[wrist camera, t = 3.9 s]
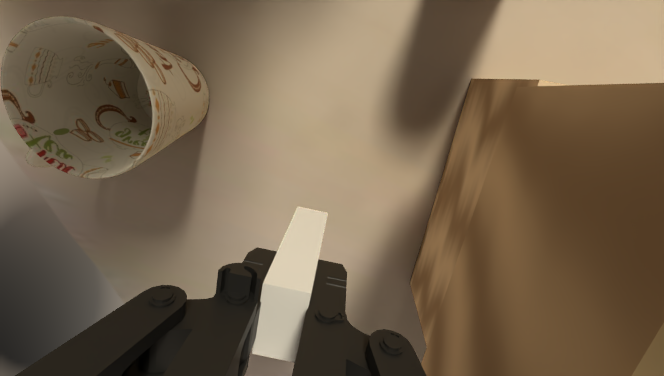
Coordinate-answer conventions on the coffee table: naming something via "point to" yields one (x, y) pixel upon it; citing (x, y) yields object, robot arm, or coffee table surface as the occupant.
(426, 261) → the wooden box
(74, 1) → the coffee table surface
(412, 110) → the coffee table surface
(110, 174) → the mug
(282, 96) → the coffee table surface
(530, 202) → the lid
